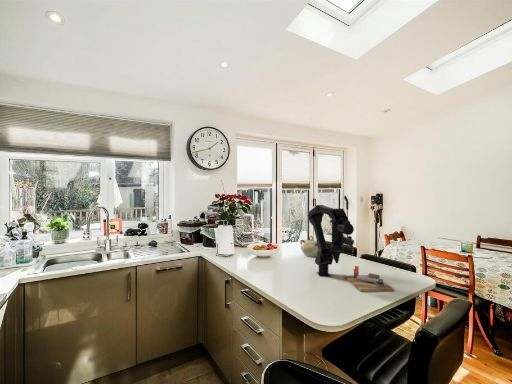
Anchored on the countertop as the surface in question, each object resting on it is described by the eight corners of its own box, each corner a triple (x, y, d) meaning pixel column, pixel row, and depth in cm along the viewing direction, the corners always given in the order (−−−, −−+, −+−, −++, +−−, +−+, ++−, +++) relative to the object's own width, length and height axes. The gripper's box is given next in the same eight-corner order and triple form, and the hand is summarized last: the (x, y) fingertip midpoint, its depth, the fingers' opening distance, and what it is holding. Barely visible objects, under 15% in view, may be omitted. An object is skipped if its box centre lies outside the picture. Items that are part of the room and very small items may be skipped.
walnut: (367, 279, 137) (367, 272, 137) (373, 279, 137) (373, 272, 137) (370, 281, 133) (370, 274, 133) (376, 281, 133) (376, 274, 133)
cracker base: (344, 277, 143) (344, 271, 143) (373, 277, 144) (373, 270, 144) (360, 291, 123) (360, 284, 123) (393, 291, 124) (393, 283, 124)
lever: (383, 283, 129) (383, 271, 129) (381, 285, 126) (381, 272, 126) (355, 276, 139) (355, 265, 139) (352, 278, 137) (352, 266, 136)
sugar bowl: (327, 256, 190) (327, 236, 190) (315, 259, 180) (315, 239, 180) (306, 251, 205) (306, 233, 205) (294, 254, 196) (294, 235, 195)
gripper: (353, 235, 123) (353, 267, 123) (352, 230, 141) (352, 257, 141) (330, 234, 127) (330, 265, 127) (332, 229, 144) (332, 256, 144)
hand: (337, 260), depth 135 cm, fingers open, 9 cm apart
